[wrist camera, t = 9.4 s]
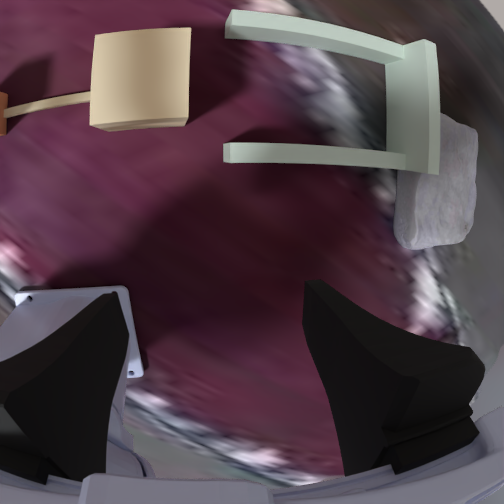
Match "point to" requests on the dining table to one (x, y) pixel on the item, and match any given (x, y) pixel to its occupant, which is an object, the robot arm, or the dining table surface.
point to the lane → (397, 95)
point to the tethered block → (129, 82)
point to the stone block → (439, 192)
